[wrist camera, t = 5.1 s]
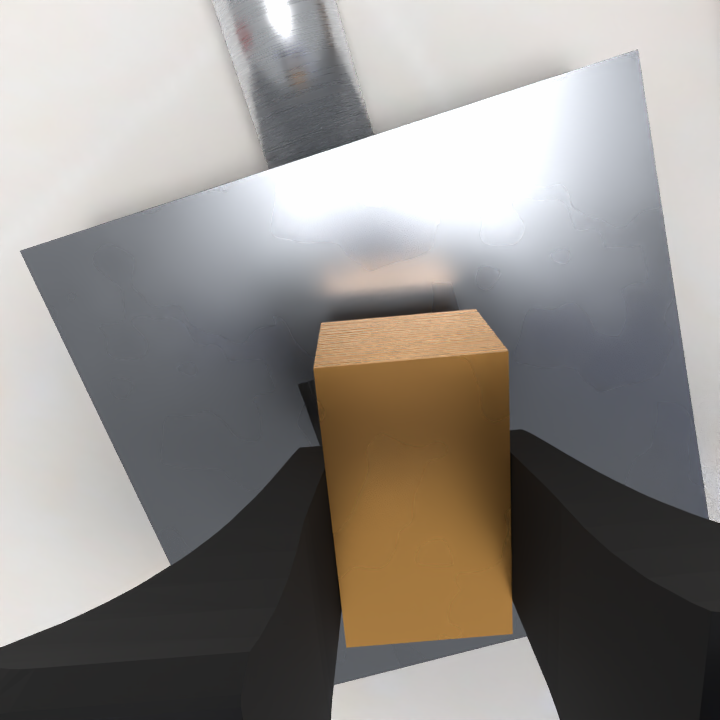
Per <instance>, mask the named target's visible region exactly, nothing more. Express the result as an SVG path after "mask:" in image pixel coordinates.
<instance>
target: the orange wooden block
mask: <svg viewBox="0 0 720 720" xmlns="http://www.w3.org/2000/svg"><path fill="white" fill-rule="evenodd" d="M313 370H314V378H315V387H316V395H317V404H318V412H319V420H320V429H321V437H322V446H323V454H324V463H325V471H326V480H327V488H328V496H329V505H330V513H331V522H332V530H333V539H334V547H335V556H336V564H337V572H338V581H339V589H340V598H341V606H342V615H343V623H344V632H345V640H346V648H348V647H360V646H373V645H385V644H397V643H409V642H422V641H434V640H446V639H458V638H471V637H483V636H495V635H507V634H513V621H512V551H511V481H510V411H509V351H508V350H507V348H506V347H505V346H504V345H503V343H502V342H501V341H500V339H499V338H498V337H497V336H496V334H495V333H494V332H493V330H492V329H491V328H490V327H489V325H488V324H487V323H486V321H485V320H484V319H483V318H482V316H481V315H480V314H479V312H478V311H477V310H476V309H469V310H458V311H447V312H436V313H425V314H413V315H402V316H391V317H380V318H368V319H357V320H346V321H335V322H324V323H321V326H320V332H319V338H318V344H317V350H316V356H315V361H314V367H313Z"/></svg>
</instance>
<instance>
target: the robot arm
mask: <svg viewBox="0 0 720 720" xmlns="http://www.w3.org/2000/svg"><path fill="white" fill-rule="evenodd" d="M510 481H511V551H512V601H513V604H514V606H515V608H516V611H517V613H518V616H519V618H520V620H521V623H522V625H523V628H524V630H525V632H526V635H527V637H528V639H529V642H530V644H531V647H532V649H533V651H534V654H535V656H536V658H537V661H538V663H539V666H540V668H541V670H542V673H543V675H544V678H545V680H546V682H547V685H548V687H549V690H550V693H551V695H552V698H553V701H554V704H555V706H556V709H557V712H558V715H559V718H560V720H720V523H717V522H715V521H712V520H709V519H706V518H703V517H700V516H697V515H694V514H692V513H689V512H687V511H684V510H681V509H679V508H676V507H674V506H671V505H668V504H666V503H663V502H661V501H658V500H656V499H654V498H651V497H649V496H647V495H644V494H642V493H640V492H638V491H636V490H634V489H632V488H630V487H628V486H626V485H624V484H621V483H619V482H617V481H615V480H613V479H611V478H609V477H607V476H606V475H604V474H602V473H600V472H598V471H596V470H594V469H592V468H591V467H589V466H587V465H585V464H583V463H582V462H580V461H578V460H576V459H575V458H573V457H571V456H569V455H568V454H566V453H564V452H562V451H561V450H559V449H557V448H556V447H554V446H552V445H551V444H549V443H547V442H545V441H544V440H542V439H540V438H539V437H537V436H535V435H533V434H531V433H529V432H527V431H525V430H523V429H518V430H510ZM341 612H342V606H341V598H340V589H339V581H338V572H337V564H336V556H335V547H334V539H333V530H332V522H331V513H330V505H329V496H328V488H327V480H326V471H325V463H324V454H323V446H312V447H300V448H298V449H297V451H296V452H295V453H294V454H293V455H292V456H291V457H290V458H289V459H288V461H287V462H286V463H285V464H284V465H283V466H282V468H281V469H280V470H279V471H278V472H277V473H276V475H275V476H274V477H273V478H272V479H271V480H270V482H269V483H268V484H267V485H266V486H265V487H264V488H263V489H262V490H261V491H260V492H259V493H258V495H257V496H256V497H255V498H254V499H253V500H252V501H251V502H250V503H249V504H247V505H246V506H245V507H244V508H243V509H242V510H241V511H240V512H239V513H238V514H237V515H236V516H235V517H234V518H233V519H232V520H231V521H230V522H229V523H227V524H226V525H225V526H224V527H223V528H222V529H220V530H219V531H218V532H217V533H216V534H214V535H213V536H212V537H211V538H209V539H208V540H207V541H205V542H204V543H203V544H201V545H200V546H199V547H197V548H196V549H195V550H193V551H192V552H191V553H189V554H188V555H186V556H185V557H183V558H182V559H181V560H179V561H177V562H176V563H174V564H172V565H171V566H169V567H168V568H166V569H164V570H163V571H161V572H160V573H158V574H156V575H155V576H153V577H151V578H150V579H148V580H147V581H145V582H143V583H142V584H140V585H138V586H137V587H135V588H133V589H131V590H129V591H127V592H126V593H124V594H122V595H120V596H118V597H116V598H114V599H112V600H110V601H109V602H106V603H104V604H102V605H100V606H98V607H96V608H94V609H92V610H90V611H88V612H86V613H84V614H81V615H79V616H77V617H75V618H73V619H70V620H68V621H66V622H64V623H61V624H59V625H56V626H54V627H51V628H49V629H46V630H44V631H41V632H39V633H36V634H34V635H31V636H29V637H26V638H24V639H21V640H18V641H16V642H13V643H11V644H8V645H6V646H3V647H0V720H331V708H332V696H333V687H334V678H335V668H336V659H337V650H338V641H339V631H340V622H341Z"/></svg>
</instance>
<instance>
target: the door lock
mask: <svg viewBox="0 0 720 720" xmlns="http://www.w3.org/2000/svg"><path fill="white" fill-rule="evenodd" d="M212 3H213V6H214V9H215V12H216V14H217V17H218V20H219V23H220V26H221V29H222V32H223V35H224V38H225V41H226V44H227V47H228V50H229V53H230V56H231V59H232V62H233V65H234V67H235V70H236V73H237V76H238V79H239V82H240V85H241V88H242V91H243V94H244V97H245V100H246V103H247V106H248V109H249V112H250V115H251V118H252V120H253V123H254V126H255V129H256V132H257V135H258V138H259V141H260V144H261V147H262V150H263V153H264V156H265V159H266V162H267V165H268V168H269V170H267V171H263V172H260V173H257V174H254V175H251V176H248V177H245V178H242V179H239V180H236V181H233V182H230V183H227V184H224V185H221V186H217V187H214V188H211V189H208V190H205V191H202V192H199V193H196V194H193V195H190V196H187V197H184V198H181V199H178V200H175V201H171V202H168V203H165V204H162V205H159V206H156V207H153V208H150V209H147V210H144V211H141V212H138V213H135V214H132V215H129V216H125V217H122V218H119V219H116V220H113V221H110V222H107V223H104V224H101V225H98V226H95V227H92V228H89V229H86V230H83V231H79V232H76V233H73V234H70V235H67V236H64V237H61V238H58V239H55V240H52V241H49V242H46V243H43V244H40V245H37V246H33V247H30V248H27V249H24V250H21V251H20V252H21V254H22V256H23V258H24V261H25V263H26V265H27V267H28V269H29V271H30V273H31V275H32V277H33V279H34V281H35V283H36V285H37V288H38V290H39V292H40V294H41V296H42V298H43V300H44V302H45V304H46V306H47V308H48V310H49V313H50V315H51V317H52V319H53V321H54V323H55V325H56V327H57V329H58V331H59V333H60V335H61V338H62V340H63V342H64V344H65V346H66V348H67V350H68V352H69V354H70V356H71V358H72V360H73V362H74V365H75V367H76V369H77V371H78V373H79V375H80V377H81V379H82V381H83V383H84V385H85V387H86V390H87V392H88V394H89V396H90V398H91V400H92V402H93V404H94V406H95V408H96V410H97V412H98V414H99V417H100V419H101V421H102V423H103V425H104V427H105V429H106V431H107V433H108V435H109V437H110V439H111V442H112V444H113V446H114V448H115V450H116V452H117V454H118V456H119V458H120V460H121V462H122V464H123V467H124V469H125V471H126V473H127V475H128V477H129V479H130V481H131V483H132V485H133V487H134V489H135V491H136V494H137V496H138V498H139V500H140V502H141V504H142V506H143V508H144V510H145V512H146V514H147V516H148V519H149V521H150V523H151V525H152V527H153V529H154V531H155V533H156V535H157V537H158V539H159V541H160V544H161V546H162V548H163V550H164V552H165V554H166V556H167V558H168V560H169V562H170V564H171V565H172V564H174V563H176V562H177V561H179V560H181V559H182V558H183V557H185V556H186V555H188V554H189V553H191V552H192V551H193V550H195V549H196V548H197V547H199V546H200V545H201V544H203V543H204V542H205V541H207V540H208V539H209V538H211V537H212V536H213V535H214V534H216V533H217V532H218V531H219V530H220V529H222V528H223V527H224V526H225V525H226V524H227V523H229V522H230V521H231V520H232V519H233V518H234V517H235V516H236V515H237V514H238V513H239V512H240V511H241V510H242V509H243V508H244V507H245V506H246V505H247V504H249V503H250V502H251V501H252V500H253V499H254V498H255V497H256V496H257V495H258V493H259V492H260V491H261V490H262V489H263V488H264V487H265V486H266V485H267V484H268V483H269V482H270V480H271V479H272V478H273V477H274V476H275V475H276V473H277V472H278V471H279V470H280V469H281V468H282V466H283V465H284V464H285V463H286V462H287V461H288V459H289V458H290V457H291V456H292V455H293V454H294V453H295V452H296V451H297V449H298V448H300V447H312V446H322V437H321V429H320V420H319V412H318V404H317V395H316V387H315V378H314V370H313V367H314V361H315V356H316V350H317V344H318V338H319V332H320V326H321V323H324V322H335V321H346V320H357V319H368V318H380V317H391V316H402V315H413V314H425V313H436V312H447V311H458V310H469V309H476V310H477V311H478V312H479V314H480V315H481V316H482V318H483V319H484V320H485V321H486V323H487V324H488V325H489V327H490V328H491V329H492V330H493V332H494V333H495V334H496V336H497V337H498V338H499V339H500V341H501V342H502V343H503V345H504V346H505V347H506V348H507V350H508V351H509V411H510V430H518V429H523V430H525V431H527V432H529V433H531V434H533V435H535V436H537V437H539V438H540V439H542V440H544V441H545V442H547V443H549V444H551V445H552V446H554V447H556V448H557V449H559V450H561V451H562V452H564V453H566V454H568V455H569V456H571V457H573V458H575V459H576V460H578V461H580V462H582V463H583V464H585V465H587V466H589V467H591V468H592V469H594V470H596V471H598V472H600V473H602V474H604V475H606V476H607V477H609V478H611V479H613V480H615V481H617V482H619V483H621V484H624V485H626V486H628V487H630V488H632V489H634V490H636V491H638V492H640V493H642V494H644V495H647V496H649V497H651V498H654V499H656V500H658V501H661V502H663V503H666V504H668V505H671V506H674V507H676V508H679V509H681V510H684V511H687V512H689V513H692V514H694V515H697V516H700V517H703V518H706V519H709V517H708V511H707V504H706V497H705V491H704V484H703V477H702V471H701V464H700V458H699V451H698V444H697V438H696V431H695V424H694V418H693V411H692V404H691V398H690V391H689V385H688V378H687V371H686V365H685V358H684V351H683V345H682V338H681V331H680V325H679V318H678V311H677V305H676V298H675V292H674V285H673V278H672V272H671V265H670V258H669V252H668V245H667V238H666V232H665V225H664V219H663V212H662V205H661V199H660V192H659V185H658V179H657V172H656V165H655V159H654V152H653V145H652V139H651V132H650V126H649V119H648V112H647V106H646V99H645V92H644V86H643V79H642V72H641V66H640V59H639V52H638V50H635V51H631V52H628V53H625V54H622V55H619V56H616V57H613V58H610V59H607V60H604V61H601V62H598V63H595V64H592V65H589V66H585V67H582V68H579V69H576V70H573V71H570V72H567V73H564V74H561V75H558V76H555V77H552V78H549V79H546V80H543V81H539V82H536V83H533V84H530V85H527V86H524V87H521V88H518V89H515V90H512V91H509V92H506V93H503V94H500V95H497V96H493V97H490V98H487V99H484V100H481V101H478V102H475V103H472V104H469V105H466V106H463V107H460V108H457V109H454V110H451V111H447V112H444V113H441V114H438V115H435V116H432V117H429V118H426V119H423V120H420V121H417V122H414V123H411V124H408V125H405V126H401V127H398V128H395V129H392V130H389V131H386V132H383V133H380V134H377V135H373V131H372V128H371V124H370V120H369V117H368V113H367V110H366V106H365V103H364V99H363V96H362V92H361V89H360V85H359V82H358V78H357V75H356V71H355V68H354V64H353V61H352V57H351V54H350V50H349V46H348V43H347V39H346V36H345V32H344V29H343V25H342V22H341V18H340V15H339V11H338V8H337V4H336V1H335V0H212ZM512 621H513V634H507V635H495V636H483V637H471V638H458V639H446V640H434V641H422V642H409V643H397V644H385V645H373V646H360V647H348V648H346V640H345V632H344V623H343V615H342V612H341V622H340V631H339V641H338V650H337V659H336V668H335V678H334V685H336V684H340V683H344V682H348V681H352V680H355V679H359V678H363V677H367V676H371V675H375V674H379V673H383V672H387V671H391V670H395V669H399V668H403V667H407V666H411V665H415V664H419V663H423V662H427V661H431V660H435V659H438V658H442V657H446V656H450V655H454V654H458V653H462V652H466V651H470V650H474V649H478V648H482V647H486V646H490V645H494V644H498V643H502V642H506V641H510V640H514V639H517V638H521V637H525V636H527V635H526V632H525V630H524V628H523V625H522V623H521V620H520V618H519V616H518V613H517V611H516V608H515V606H514V604H513V601H512Z"/></svg>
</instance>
